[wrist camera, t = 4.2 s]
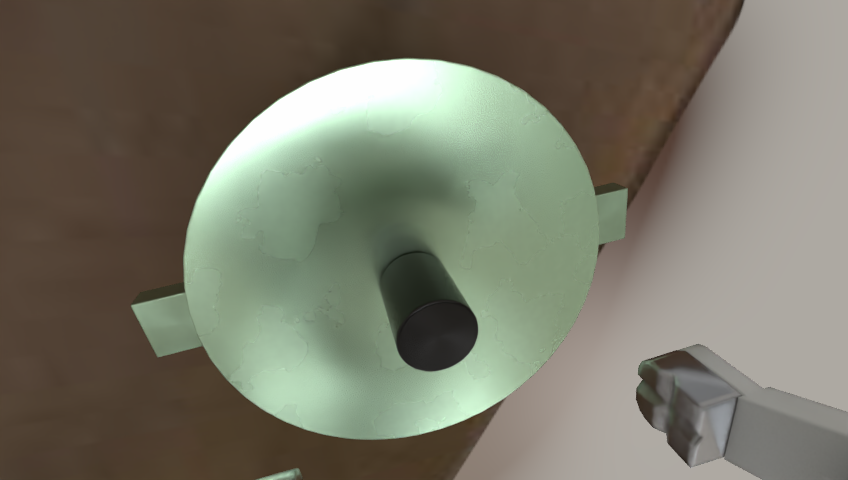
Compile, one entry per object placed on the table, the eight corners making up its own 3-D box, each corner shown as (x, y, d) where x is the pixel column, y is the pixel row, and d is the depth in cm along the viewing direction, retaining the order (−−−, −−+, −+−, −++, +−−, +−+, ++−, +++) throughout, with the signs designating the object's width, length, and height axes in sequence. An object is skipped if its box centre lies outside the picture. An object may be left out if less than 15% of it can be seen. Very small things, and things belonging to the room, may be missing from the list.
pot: (537, 269, 30) (627, 353, 21) (243, 345, 26) (210, 480, 18) (529, 40, 23) (652, 30, 15) (145, 104, 20) (24, 137, 12)
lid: (580, 365, 21) (645, 440, 17) (268, 460, 19) (255, 573, 15) (586, 24, 15) (693, 11, 11) (110, 102, 12) (7, 125, 8)
